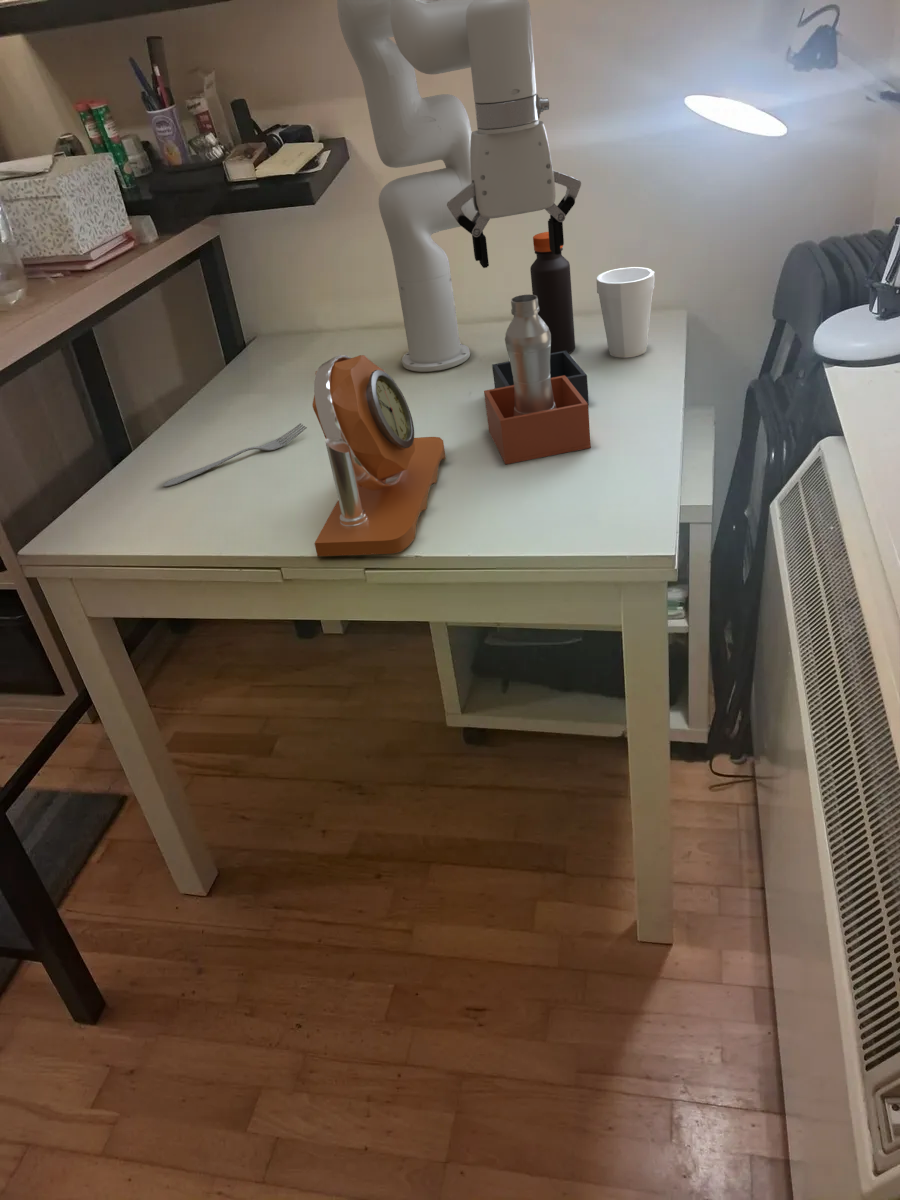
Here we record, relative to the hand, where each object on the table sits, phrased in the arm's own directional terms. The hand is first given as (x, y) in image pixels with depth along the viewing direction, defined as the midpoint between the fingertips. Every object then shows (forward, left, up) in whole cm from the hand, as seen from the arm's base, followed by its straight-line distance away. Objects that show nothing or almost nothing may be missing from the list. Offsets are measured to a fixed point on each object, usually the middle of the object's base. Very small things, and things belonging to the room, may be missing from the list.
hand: (519, 258), depth 124 cm
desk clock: (+11, -23, -26) cm, 36 cm away
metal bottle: (0, 0, -25) cm, 25 cm away
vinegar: (-36, +12, -26) cm, 46 cm away
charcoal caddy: (-15, +4, -26) cm, 30 cm away
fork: (-14, -45, -26) cm, 54 cm away
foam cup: (-29, +23, -26) cm, 45 cm away
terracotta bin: (0, 0, -26) cm, 26 cm away
